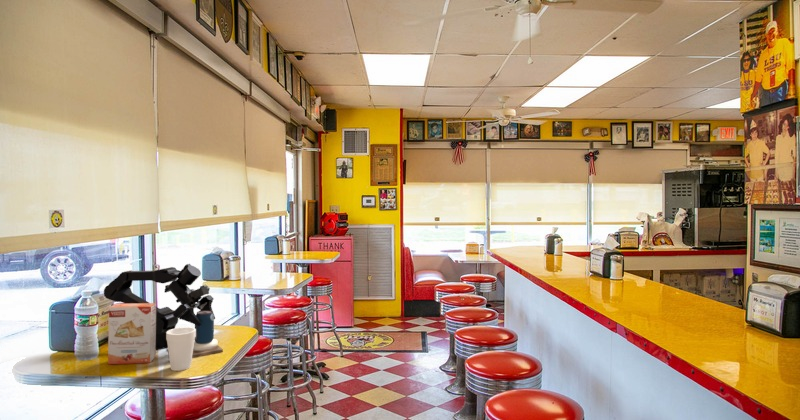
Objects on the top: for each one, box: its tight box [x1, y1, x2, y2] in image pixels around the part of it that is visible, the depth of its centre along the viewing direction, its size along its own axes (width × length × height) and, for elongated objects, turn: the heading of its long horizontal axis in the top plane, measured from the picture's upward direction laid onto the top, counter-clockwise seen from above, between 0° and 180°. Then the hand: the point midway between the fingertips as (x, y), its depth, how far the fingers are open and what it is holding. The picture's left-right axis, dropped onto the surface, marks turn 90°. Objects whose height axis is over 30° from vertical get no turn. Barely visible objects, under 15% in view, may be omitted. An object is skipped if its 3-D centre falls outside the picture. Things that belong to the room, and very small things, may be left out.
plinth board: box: [192, 338, 224, 359], centre depth 175 cm, size 16×16×3 cm
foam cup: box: [166, 326, 196, 372], centre depth 156 cm, size 10×9×13 cm
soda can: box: [194, 310, 215, 344], centre depth 176 cm, size 7×7×12 cm
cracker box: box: [107, 302, 157, 365], centre depth 161 cm, size 14×6×21 cm, turn 101°
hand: (207, 322), depth 175 cm, fingers open, 9 cm apart
